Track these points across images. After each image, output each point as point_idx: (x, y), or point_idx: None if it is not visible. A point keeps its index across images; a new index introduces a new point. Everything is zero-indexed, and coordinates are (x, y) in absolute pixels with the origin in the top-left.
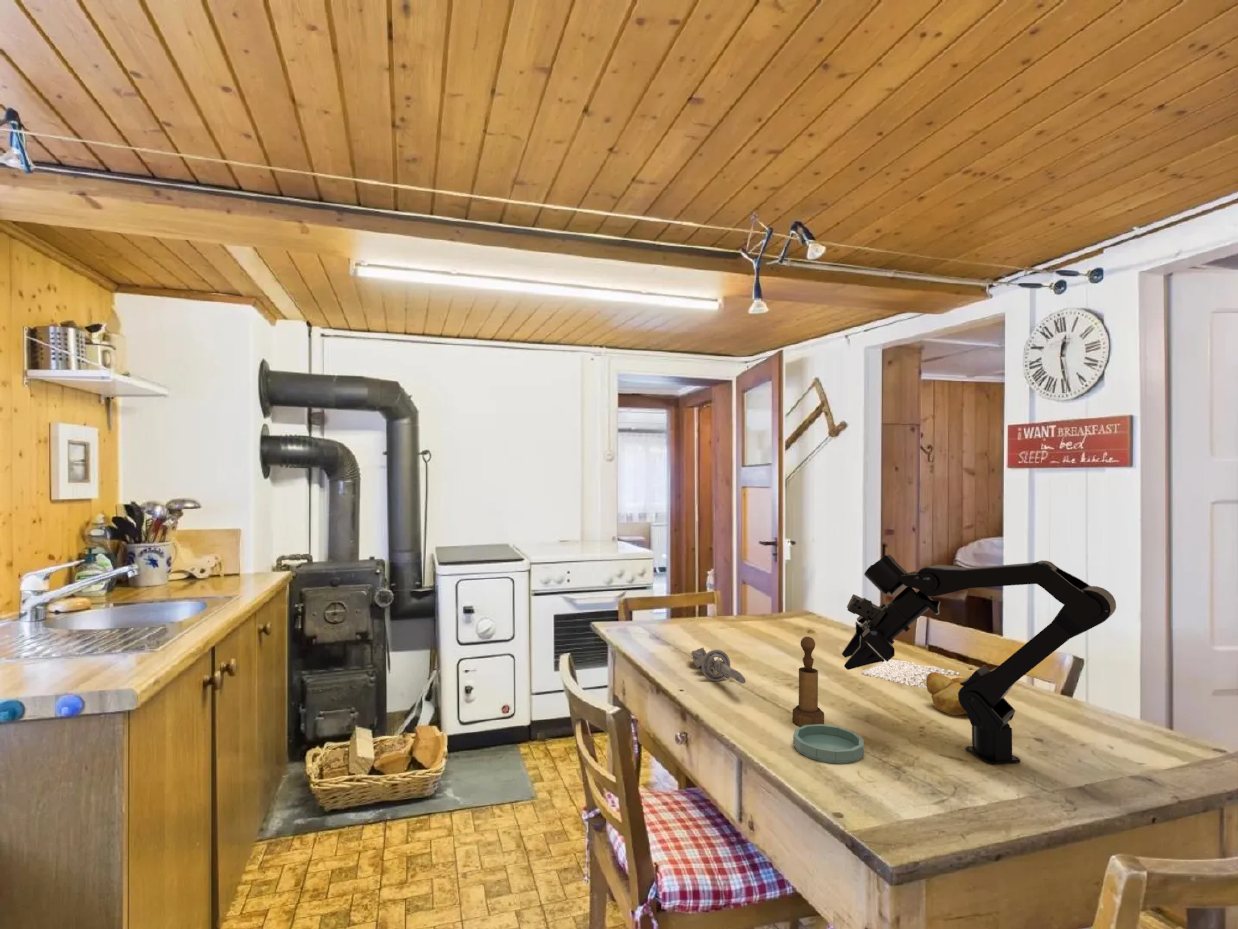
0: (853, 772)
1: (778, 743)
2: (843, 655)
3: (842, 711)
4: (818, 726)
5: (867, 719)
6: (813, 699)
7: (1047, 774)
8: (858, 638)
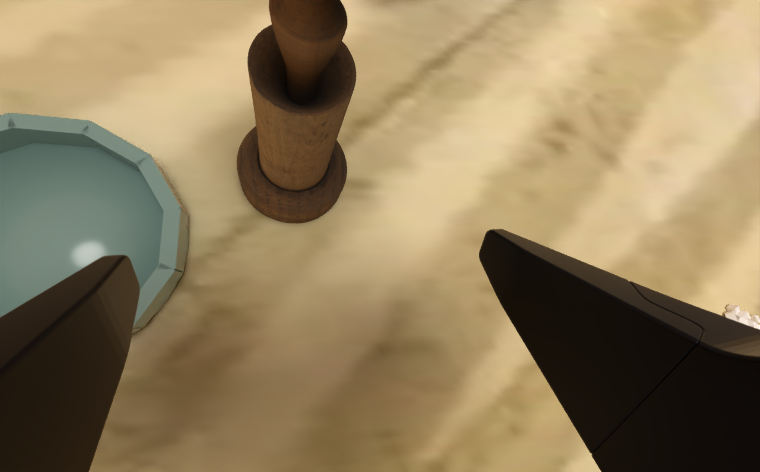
0: None
1: (63, 91)
2: (484, 242)
3: (431, 271)
4: (157, 199)
5: (396, 350)
6: (265, 157)
7: None
8: (665, 373)
